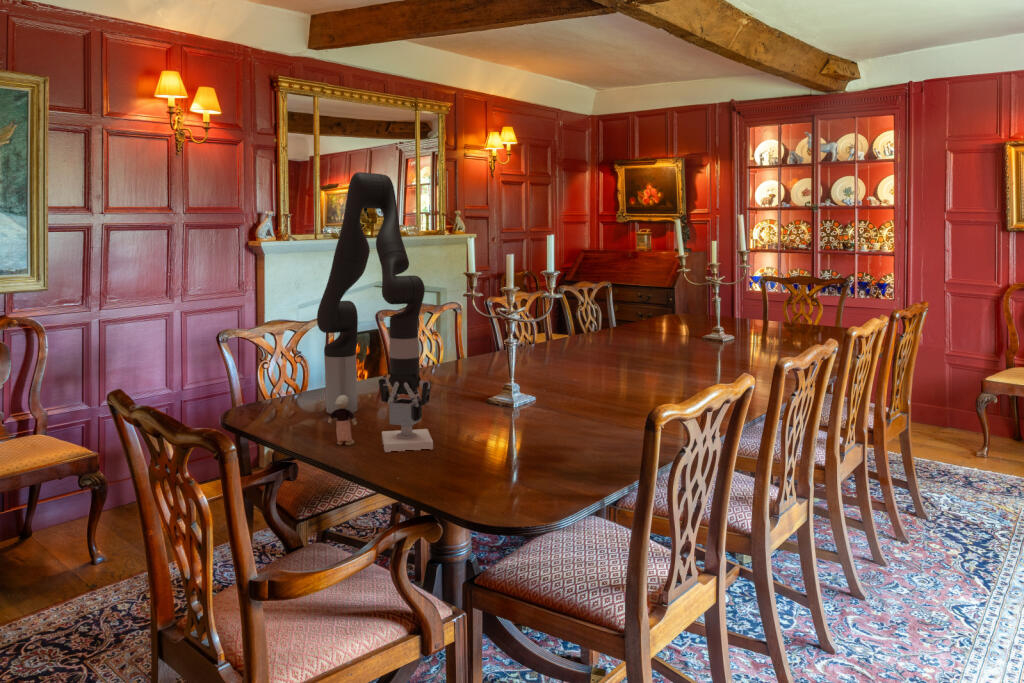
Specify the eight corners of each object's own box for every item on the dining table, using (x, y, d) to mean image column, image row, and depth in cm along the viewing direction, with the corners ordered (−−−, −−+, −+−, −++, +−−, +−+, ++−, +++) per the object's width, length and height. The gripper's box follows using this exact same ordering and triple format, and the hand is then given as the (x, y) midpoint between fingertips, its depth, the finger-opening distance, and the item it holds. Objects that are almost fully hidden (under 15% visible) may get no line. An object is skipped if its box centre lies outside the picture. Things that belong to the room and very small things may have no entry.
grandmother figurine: (359, 441, 197) (358, 393, 195) (357, 445, 193) (355, 397, 191) (329, 441, 197) (328, 393, 195) (326, 445, 193) (325, 397, 191)
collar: (400, 418, 197) (399, 397, 196) (421, 420, 195) (420, 399, 194) (389, 424, 192) (389, 403, 191) (411, 426, 190) (410, 404, 189)
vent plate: (381, 438, 199) (381, 409, 198) (427, 436, 202) (427, 407, 200) (384, 452, 187) (384, 421, 186) (433, 449, 190) (432, 418, 189)
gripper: (436, 354, 192) (437, 418, 195) (385, 350, 196) (387, 413, 199) (424, 359, 185) (425, 425, 188) (371, 355, 189) (373, 420, 192)
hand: (405, 419), depth 193 cm, fingers closed on collar, 6 cm apart
